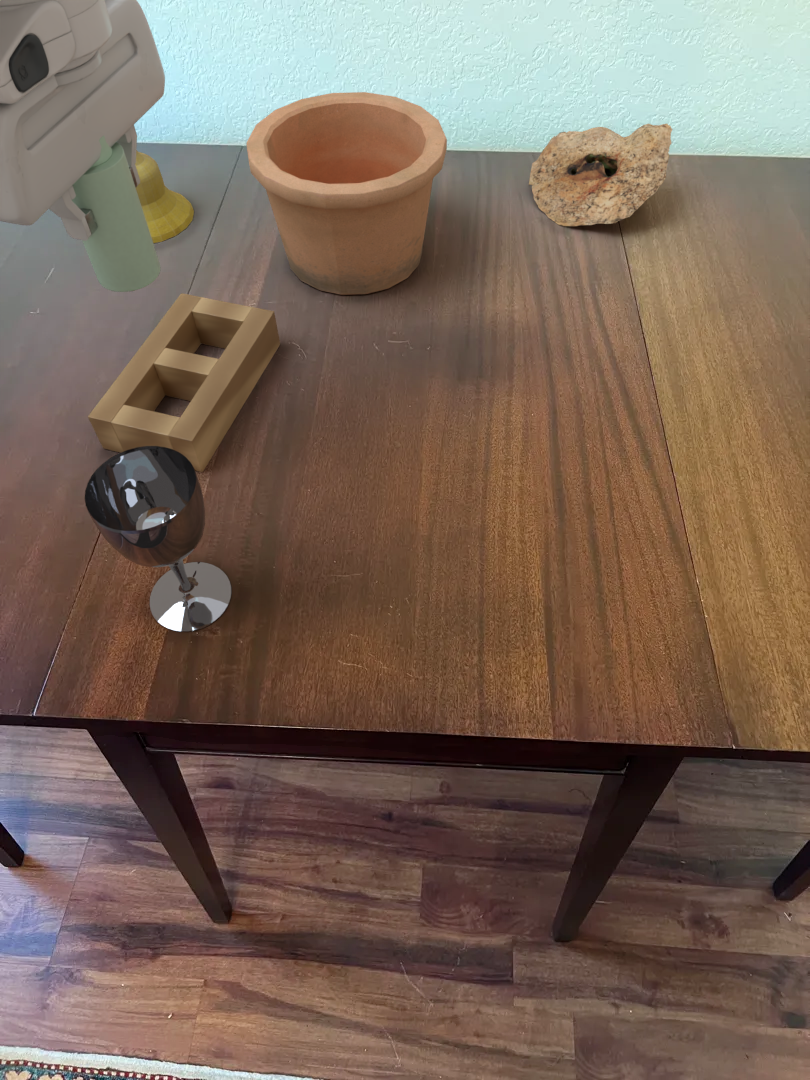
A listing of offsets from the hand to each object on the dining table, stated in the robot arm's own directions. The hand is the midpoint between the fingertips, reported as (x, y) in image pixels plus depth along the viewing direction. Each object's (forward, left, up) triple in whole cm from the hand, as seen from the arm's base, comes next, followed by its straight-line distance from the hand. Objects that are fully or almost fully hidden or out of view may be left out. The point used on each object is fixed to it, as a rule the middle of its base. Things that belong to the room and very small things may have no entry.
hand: (106, 211), depth 61 cm
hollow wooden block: (-1, +5, -24) cm, 24 cm away
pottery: (+7, +33, -24) cm, 41 cm away
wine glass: (+10, -18, -24) cm, 32 cm away
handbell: (-22, +33, -24) cm, 46 cm away
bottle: (0, 0, -6) cm, 6 cm away
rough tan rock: (+33, +52, -24) cm, 66 cm away
